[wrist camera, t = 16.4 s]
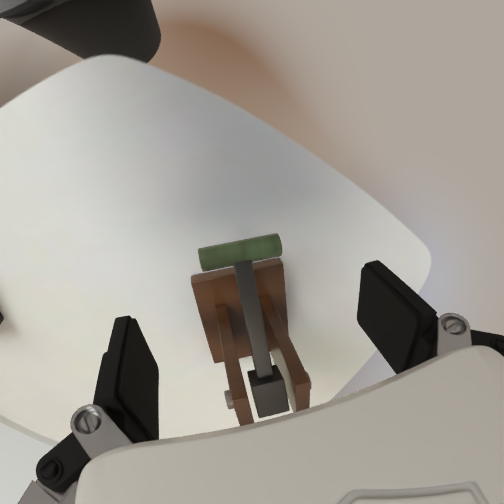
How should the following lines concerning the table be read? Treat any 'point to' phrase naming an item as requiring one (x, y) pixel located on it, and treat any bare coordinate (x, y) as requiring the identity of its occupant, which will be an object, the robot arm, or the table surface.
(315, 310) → the table surface
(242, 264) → the light lever
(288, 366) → the lever bracket
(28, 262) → the table surface
